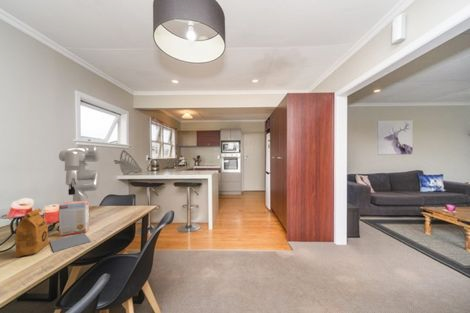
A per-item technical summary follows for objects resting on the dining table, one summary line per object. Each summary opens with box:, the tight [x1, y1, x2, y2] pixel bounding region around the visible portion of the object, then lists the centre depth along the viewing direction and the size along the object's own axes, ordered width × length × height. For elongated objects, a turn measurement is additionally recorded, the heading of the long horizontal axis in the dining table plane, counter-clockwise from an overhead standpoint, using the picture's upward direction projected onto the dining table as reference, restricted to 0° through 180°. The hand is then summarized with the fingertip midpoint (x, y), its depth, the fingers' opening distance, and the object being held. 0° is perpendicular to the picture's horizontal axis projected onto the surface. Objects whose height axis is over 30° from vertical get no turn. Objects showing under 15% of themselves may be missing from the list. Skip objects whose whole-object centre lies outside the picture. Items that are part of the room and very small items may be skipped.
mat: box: [49, 233, 92, 253], centre depth 108 cm, size 18×16×1 cm
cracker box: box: [58, 200, 90, 237], centre depth 121 cm, size 14×6×21 cm, turn 112°
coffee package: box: [14, 208, 49, 258], centre depth 98 cm, size 10×12×22 cm
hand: (71, 194), depth 127 cm, fingers closed
